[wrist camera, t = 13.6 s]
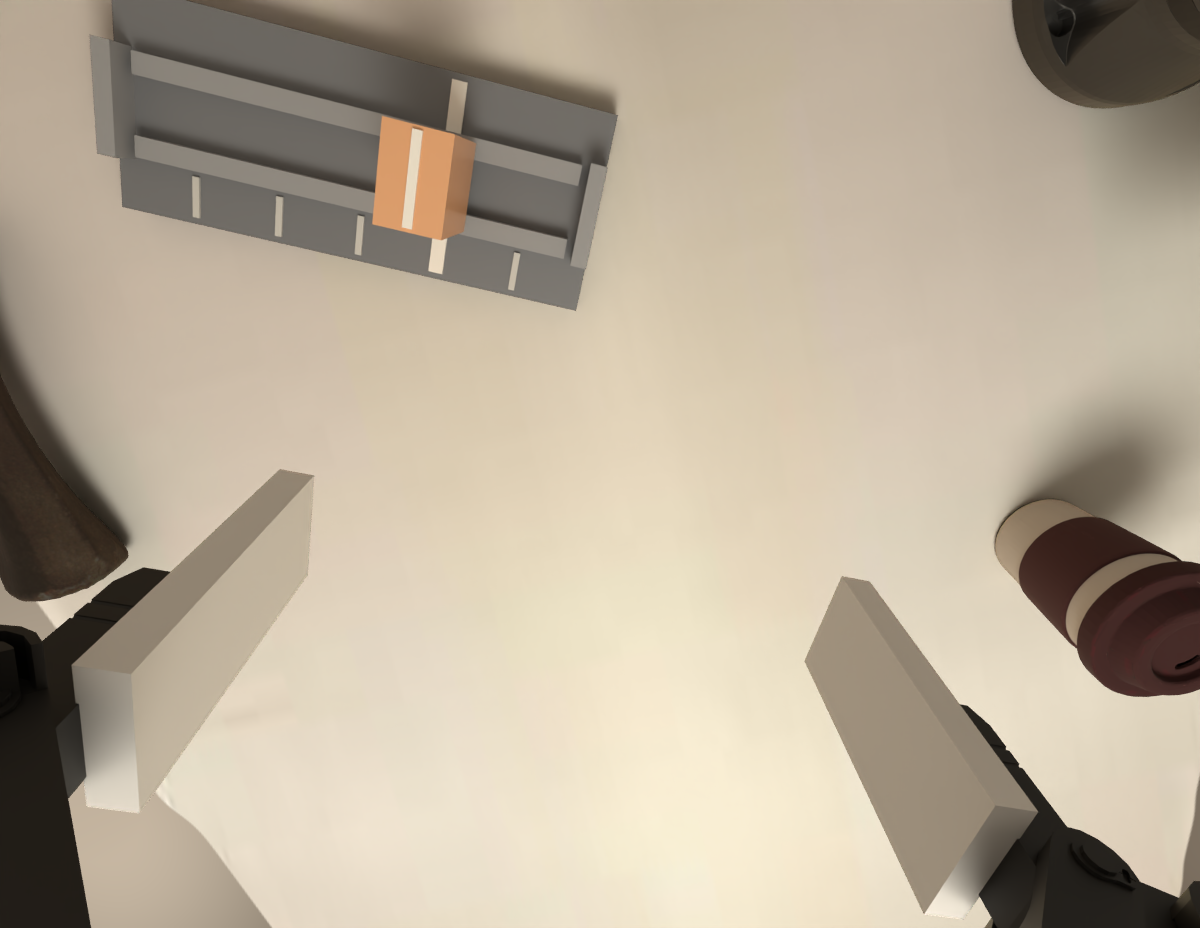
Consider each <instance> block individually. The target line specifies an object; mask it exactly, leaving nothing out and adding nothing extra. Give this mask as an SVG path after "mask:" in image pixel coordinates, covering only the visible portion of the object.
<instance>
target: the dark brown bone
mask: <svg viewBox="0 0 1200 928" xmlns="http://www.w3.org/2000/svg"><path fill="white" fill-rule="evenodd" d="M127 558H128V551H127V549H126V547H125V546H124V544H123V543H122V542H121V541H120V540H119V539H118V538H117V537H116V536H115V534H114V533H113V532H112V531H111V530H110V529H109V528H108V527H107V526H105V525H104V524H103V523H102V522H101V520H100V519H98V518H97V517H96V516H95V515H94V514H93V513H92V512H91V511H90V510H89V509H88V508H87V507H86V506H85V504H84V503H83V502H82V501H81V500H80V499H79V498H78V497H77V496H76V495H75V493H74V492H73V491H72V490H71V489H70V488H69V487H68V485H67V484H66V483H65V482H64V481H63V479H62V478H61V477H60V475H59V474H58V473H57V472H56V470H55V469H54V467H53V466H52V465H51V463H50V462H49V461H48V459H47V458H46V456H45V455H44V454H43V452H42V451H41V449H40V448H39V446H38V445H37V443H36V441H35V440H34V438H33V436H32V435H31V434H30V432H29V430H28V428H27V427H26V425H25V423H24V422H23V420H22V418H21V416H20V415H19V413H18V411H17V409H16V407H15V405H14V404H13V402H12V399H11V397H10V395H9V393H8V391H7V389H6V386H5V385H4V382H3V380H2V378H1V375H0V578H1V580H2V583H3V585H4V587H5V589H6V591H8V593H9V594H11V595H12V596H14V597H16V598H17V599H19V600H22V601H45V600H51V599H57V598H61V597H63V596H66V595H69V594H73V593H75V592H78V591H80V590H82V589H87V588H89V587H90V586H92V585H94V584H95V583H97V582H98V581H100V580H102V579H104V578H105V577H106V576H107V575H109V574H110V573H111V572H113V571H114V570H115V569H117V568H118V567H119V566H120V565H121V564H122V563H123V562H124V561H126V559H127Z"/></svg>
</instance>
